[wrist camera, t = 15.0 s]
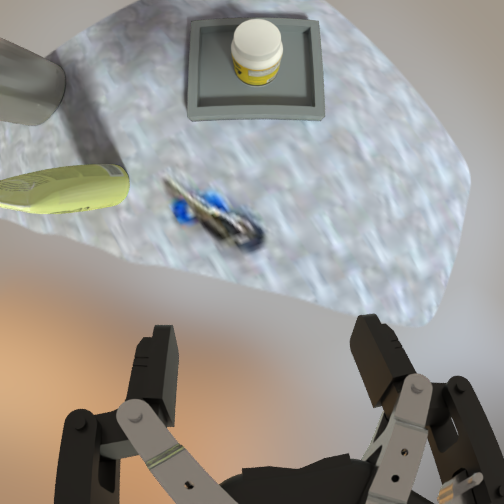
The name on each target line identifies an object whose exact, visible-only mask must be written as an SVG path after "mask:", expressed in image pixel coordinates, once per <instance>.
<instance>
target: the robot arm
mask: <svg viewBox="0 0 504 504" xmlns="http://www.w3.org/2000/svg"><path fill="white" fill-rule="evenodd" d="M64 90H65V74H64V72H63V69H62V68H61V67H60V66H58V65H57V64H55V63H53V62H51V61H49V60H47V59H45V58H43V57H41V56H39V55H37V54H35V53H33V52H31V51H28V50H27V49H24V48H22V47H20V46H18V45H16V44H14V43H11V42H9V41H7V40H5V39H3V38H0V121H4V122H10V123H16V124H22V125H28V126H36V125H39V124H41V123H43V122H45V121H46V120H47V119H48V118H50V116H51V115H52V114H53V113H54V112H55V110H56V109H57V107H58V106H59V104H60V102H61V100H62V97H63V94H64ZM350 349H351V352H352V354H353V357H354V360H355V362H356V365H357V367H358V370H359V372H360V375H361V377H362V380H363V382H364V385H365V387H366V390H367V392H368V395H369V398H370V400H371V403H372V405H373V408H376V407H380V406H382V407H383V410H384V411H383V412H382V414H381V417H380V420H379V422H378V425H377V428H376V430H375V433H374V435H373V438H372V440H371V443H370V445H369V447H368V449H367V451H366V452H365V454H364V455H363V457H362V459H361V460H358V459H350V456H349V454H343V455H338V456H333V457H329V458H324V459H322V460H319V461H317V462H315V463H313V464H310V465H308V466H305V467H303V468H300V469H291V468H281V467H272V466H267V467H255V468H242V474H238V475H236V476H233V477H231V478H229V479H227V480H225V481H223V482H222V483H221V484H217V482H216V481H214V479H213V478H212V477H211V476H210V475H209V474H208V473H207V472H206V471H205V470H204V469H203V468H202V467H201V466H200V465H199V463H198V462H197V461H196V460H195V459H194V458H193V457H192V456H191V454H190V453H189V452H188V451H187V450H186V449H185V448H184V447H183V446H182V445H180V444H179V443H178V442H177V440H176V439H175V438H174V437H173V436H172V434H171V433H170V432H169V431H168V429H167V427H174V422H175V404H176V390H177V376H178V364H179V353H178V347H177V342H176V337H175V333H174V328H173V325H155V327H154V331H153V336H152V337H143V339H142V340H141V341H140V343H139V344H138V345H137V348H136V353H135V359H134V362H133V367H132V371H131V377H130V381H129V387H128V392H127V397H126V400H125V402H124V403H123V404H121V405H120V406H119V408H118V409H116V410H114V411H111V412H107V413H102V414H97V415H93V414H92V413H91V412H90V411H88V410H85V409H77V410H74V411H72V412H71V413H70V414H69V415H68V416H67V417H66V419H65V423H64V428H63V434H62V439H61V446H60V452H59V459H58V466H57V475H56V484H55V496H54V504H119V490H120V489H119V487H120V459H121V458H127V457H131V456H136V455H140V457H141V458H142V459H143V461H144V462H145V464H146V466H147V467H148V469H149V470H150V471H151V473H152V474H153V476H154V477H155V478H156V479H157V481H158V482H159V483H160V485H161V486H162V487H163V488H164V489H165V491H166V492H167V493H168V494H169V496H170V497H171V498H172V499H173V500H174V502H175V503H176V504H434V503H433V502H431V501H429V500H427V499H426V498H424V497H422V496H421V495H419V494H418V493H416V492H414V491H413V490H411V489H412V486H413V484H414V481H415V478H416V474H417V472H418V468H419V465H420V462H421V458H422V455H423V451H424V447H425V444H426V440H427V439H428V441H429V444H430V447H431V450H432V453H433V456H434V459H435V463H436V466H437V469H438V472H439V475H440V479H441V482H442V486H441V488H440V491H439V495H438V497H437V501H438V503H439V504H504V458H503V456H502V453H501V450H500V448H499V445H498V442H497V440H496V438H495V435H494V433H493V430H492V428H491V426H490V424H489V421H488V419H487V417H486V415H485V412H484V411H483V408H482V406H481V404H480V402H479V400H478V398H477V396H476V394H475V392H474V390H473V388H472V386H471V384H470V382H469V381H468V380H467V379H466V378H464V377H462V376H453V377H452V378H450V380H449V381H448V382H447V383H431V382H430V381H429V379H428V378H426V377H425V376H423V375H421V374H417V373H416V371H415V369H414V367H413V365H412V364H411V362H410V360H409V358H408V356H407V354H406V352H405V350H404V349H403V348H402V345H401V343H400V342H399V341H398V338H397V336H396V334H395V333H394V331H393V330H392V329H391V328H390V327H389V326H388V325H387V324H381V322H380V320H379V318H378V317H377V315H376V314H367V315H359V316H358V318H357V320H356V323H355V326H354V329H353V332H352V335H351V338H350ZM451 418H452V419H453V421H454V424H455V426H456V429H457V431H458V435H457V432H456V429H455V427H454V424H453V422H452V419H451Z"/></svg>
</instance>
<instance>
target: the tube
mask: <svg viewBox="0 0 504 504" xmlns="http://www.w3.org/2000/svg"><path fill="white" fill-rule="evenodd" d="M129 186H130V184H129V178H128V175H127V173H126V172H125V170H124V169H123V168H121V167H120V166H118V165H114V164H90V165H76V166H66V167H58V168H52V169H46V170H41V171H36V172H32V173H27V174H23V175H19V176H15V177H11V178H7V179H4V180H0V207H2V208H7V209H12V210H17V211H22V212H28V213H37V214H62V213H72V212H81V211H88V210H94V209H100V208H106V207H111V206H115V205H118V204H119V203H121V202H122V201H123V200H124V199H125V198H126V196H127V194H128V191H129Z"/></svg>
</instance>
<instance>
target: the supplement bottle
mask: <svg viewBox="0 0 504 504" xmlns="http://www.w3.org/2000/svg"><path fill="white" fill-rule="evenodd" d="M231 53H232V58H233V64H234V70H235V73H236V76H237V77H238V79H239V80H240V81H241V82H242V83H244V84H246V85H248V86H251V87H262V86H265V85H268V84H269V83H271V82H272V81H273V80H274V79H275V78H276V76H277V74H278V70H279V66H280V62H281V58H282V54H283V45H282V42H281V34H280V31H279V30H278V28H277V27H276V26H275V25H274V24H272V23H271V22H269V21H266V20H263V19H251V20H247V21H245V22H243V23H241V24H240V25H239V26H238V27H237V28H236V30H235V32H234V39H233V41H232V44H231Z"/></svg>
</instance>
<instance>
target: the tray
mask: <svg viewBox="0 0 504 504" xmlns="http://www.w3.org/2000/svg"><path fill="white" fill-rule="evenodd" d="M251 19H263V20H266V21H269V22H271V23H272V24H274V25H275V26H276V27H277V28H278V30H279V31H280V34H281V42H282V45H283V54H282V58H281V62H280V66H279V70H278V74H277V76H276V78H275V79H274V80H273V81H272V82H271V83H269V84H268V85H265V86H262V87H251V86H248V85H246V84H244V83H242V82H241V81H240V80H239V79H238V77H237V76H236V73H235V70H234V64H233V58H232V53H231V44H232V41H233V39H234V32H235V30H236V28H237V27H238V26H239V25H240V24H241V23H243V22H245V21H247V20H251ZM187 117H188V118H189V119H190V120H191V121H192V122H193V121H209V120H236V119H283V120H309V121H321V120H322V119H323V118H324V117H325V98H324V79H323V64H322V51H321V39H320V28H319V21H315V20H304V19H289V18H223V19H208V20H197V21H191V34H190V51H189V72H188V103H187Z"/></svg>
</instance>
